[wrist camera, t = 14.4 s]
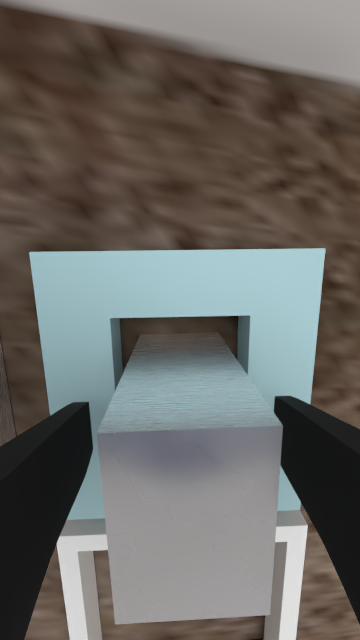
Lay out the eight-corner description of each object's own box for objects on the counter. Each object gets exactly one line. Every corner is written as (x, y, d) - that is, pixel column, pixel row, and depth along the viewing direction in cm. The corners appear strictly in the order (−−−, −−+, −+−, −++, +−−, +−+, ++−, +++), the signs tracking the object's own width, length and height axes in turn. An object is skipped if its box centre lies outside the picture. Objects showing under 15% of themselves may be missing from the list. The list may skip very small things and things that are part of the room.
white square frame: (89, 660, 18) (79, 708, 16) (70, 501, 15) (55, 536, 13) (276, 649, 18) (289, 695, 16) (290, 492, 16) (307, 525, 14)
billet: (145, 430, 14) (115, 624, 7) (140, 334, 13) (96, 432, 6) (216, 427, 15) (270, 615, 7) (217, 332, 13) (282, 425, 6)
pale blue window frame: (77, 486, 15) (63, 520, 13) (51, 253, 12) (29, 251, 10) (283, 478, 15) (299, 509, 13) (301, 250, 13) (325, 248, 11)
